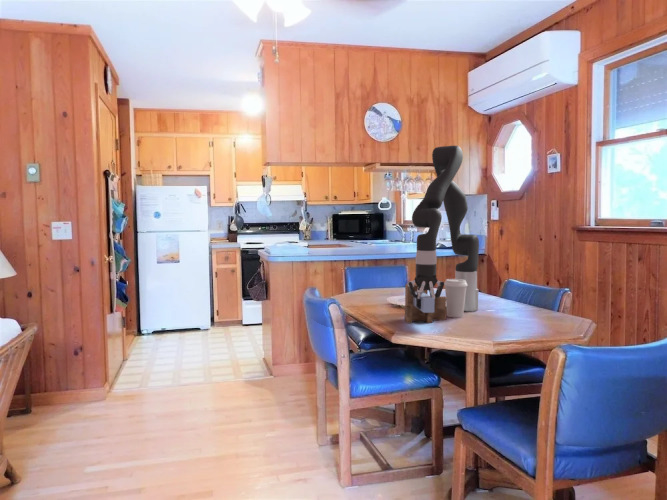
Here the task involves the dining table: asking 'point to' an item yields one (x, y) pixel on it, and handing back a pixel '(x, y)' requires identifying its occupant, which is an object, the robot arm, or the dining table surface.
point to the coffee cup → (455, 297)
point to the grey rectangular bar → (425, 303)
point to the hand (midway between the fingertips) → (425, 308)
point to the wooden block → (417, 315)
